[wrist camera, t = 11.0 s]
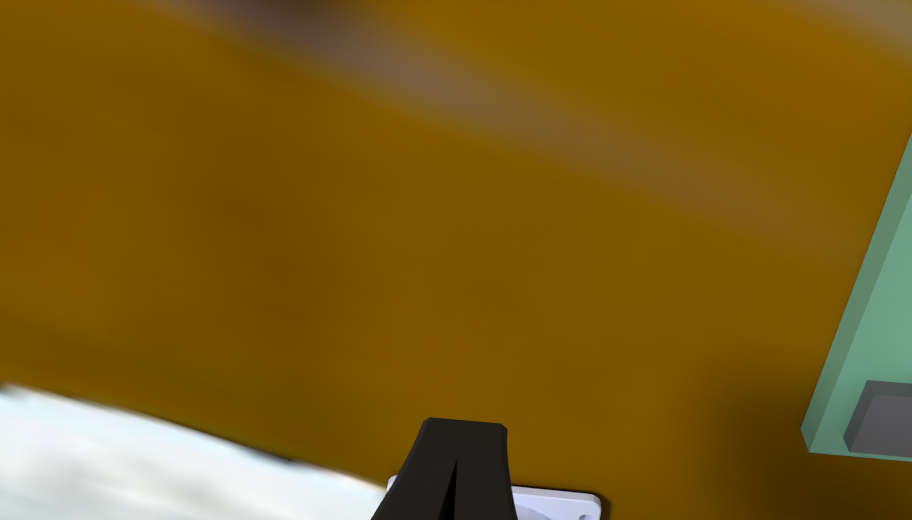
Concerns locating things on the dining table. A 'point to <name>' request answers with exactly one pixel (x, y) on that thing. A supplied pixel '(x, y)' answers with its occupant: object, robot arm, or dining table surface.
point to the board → (872, 347)
